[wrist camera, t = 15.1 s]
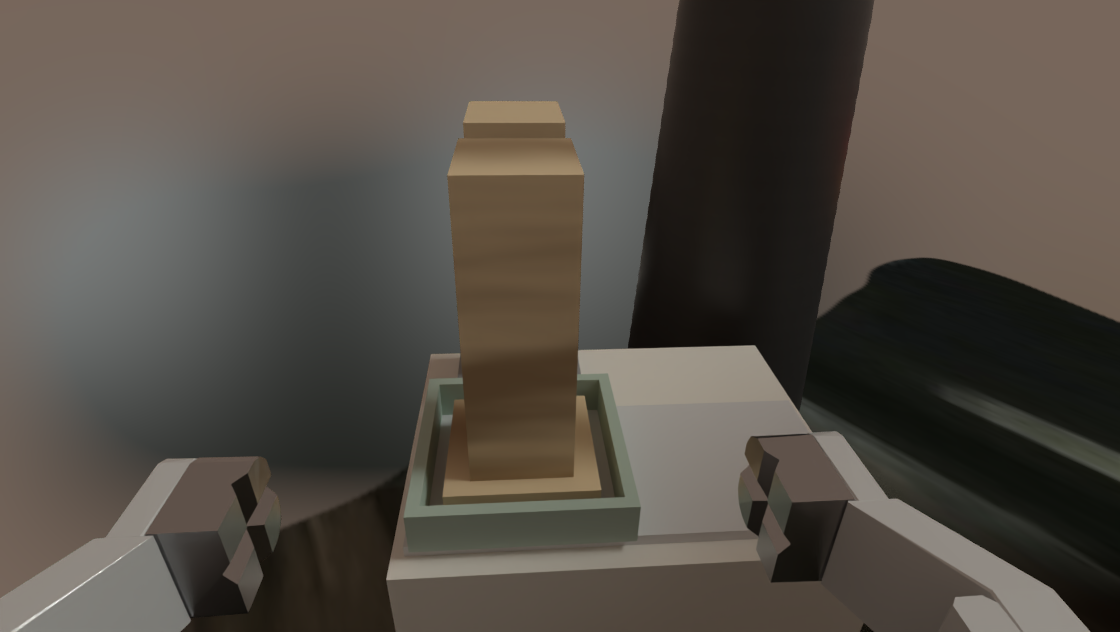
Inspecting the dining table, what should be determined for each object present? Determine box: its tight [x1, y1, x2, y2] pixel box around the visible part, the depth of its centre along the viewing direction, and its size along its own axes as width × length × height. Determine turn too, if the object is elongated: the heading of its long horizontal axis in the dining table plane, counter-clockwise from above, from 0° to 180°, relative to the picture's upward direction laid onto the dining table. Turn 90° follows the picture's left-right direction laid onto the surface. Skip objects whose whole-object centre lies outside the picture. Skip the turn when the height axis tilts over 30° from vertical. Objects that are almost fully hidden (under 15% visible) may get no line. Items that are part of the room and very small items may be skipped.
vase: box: [628, 0, 874, 412], centre depth 42 cm, size 14×14×29 cm
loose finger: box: [442, 138, 601, 505], centre depth 23 cm, size 6×6×14 cm
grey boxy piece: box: [386, 101, 864, 632], centre depth 28 cm, size 15×19×24 cm
